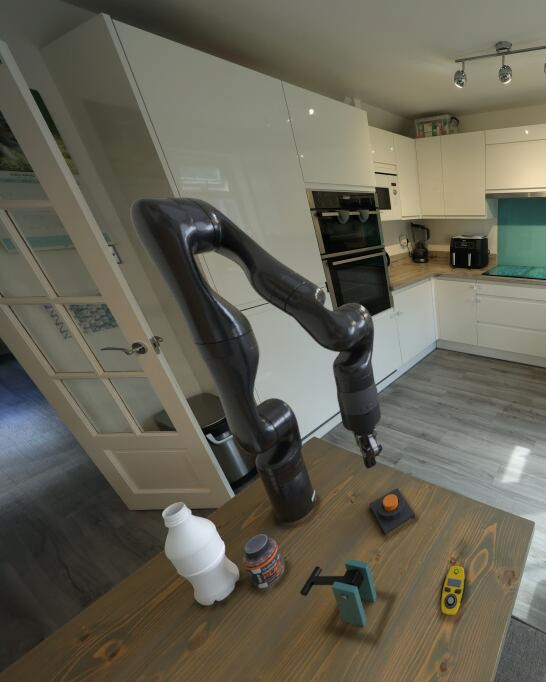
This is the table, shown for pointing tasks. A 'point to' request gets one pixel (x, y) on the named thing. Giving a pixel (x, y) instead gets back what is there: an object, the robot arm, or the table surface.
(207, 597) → the water bottle
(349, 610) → the pair of teal panels
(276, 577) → the supplement bottle
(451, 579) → the remote control
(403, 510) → the control block
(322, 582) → the lever
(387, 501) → the button
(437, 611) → the table surface
